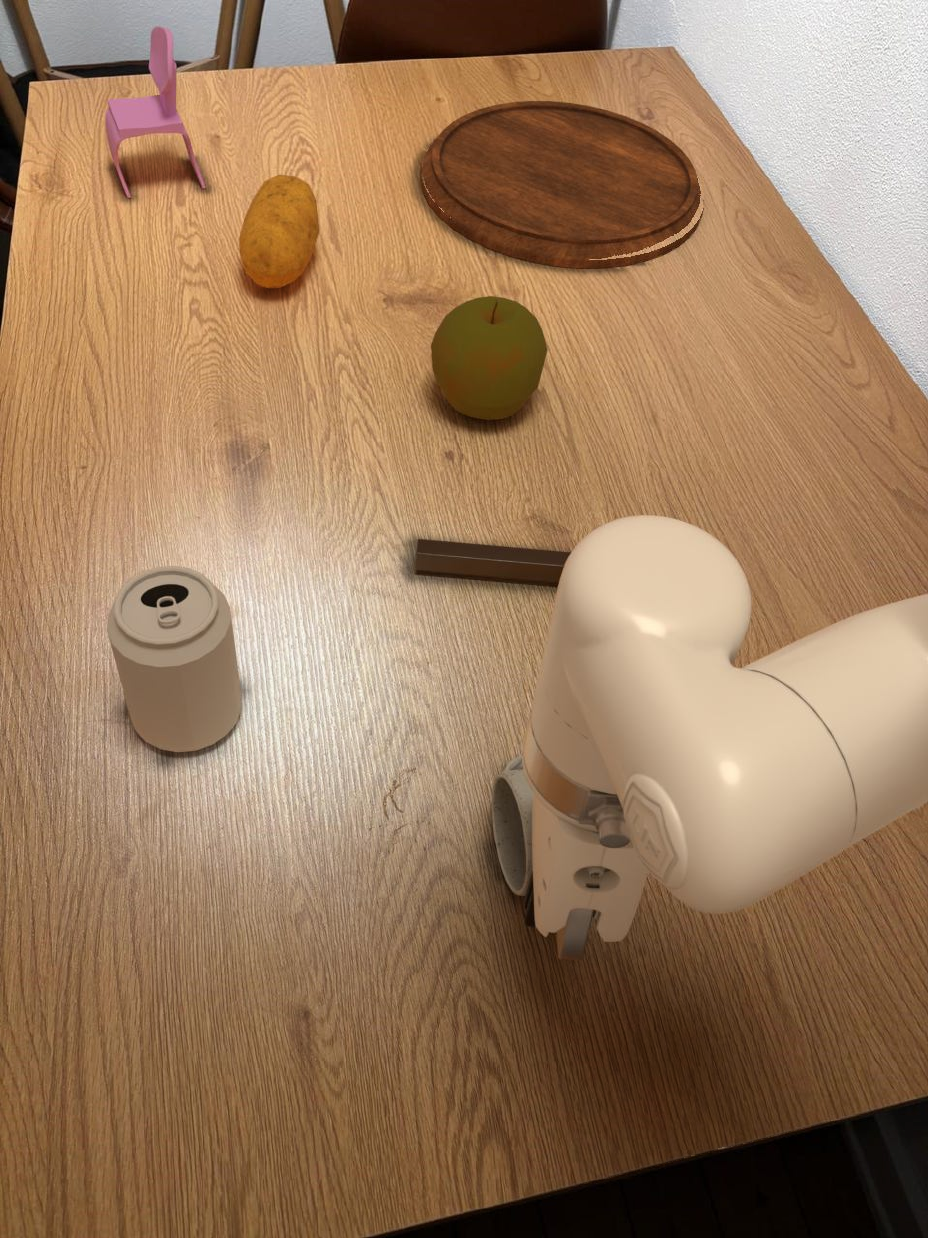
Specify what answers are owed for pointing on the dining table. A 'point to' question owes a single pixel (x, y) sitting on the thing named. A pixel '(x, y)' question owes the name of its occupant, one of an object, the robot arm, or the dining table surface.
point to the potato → (279, 231)
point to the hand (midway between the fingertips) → (550, 915)
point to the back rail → (489, 562)
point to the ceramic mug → (513, 825)
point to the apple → (488, 357)
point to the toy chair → (150, 105)
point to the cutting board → (561, 184)
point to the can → (176, 658)
